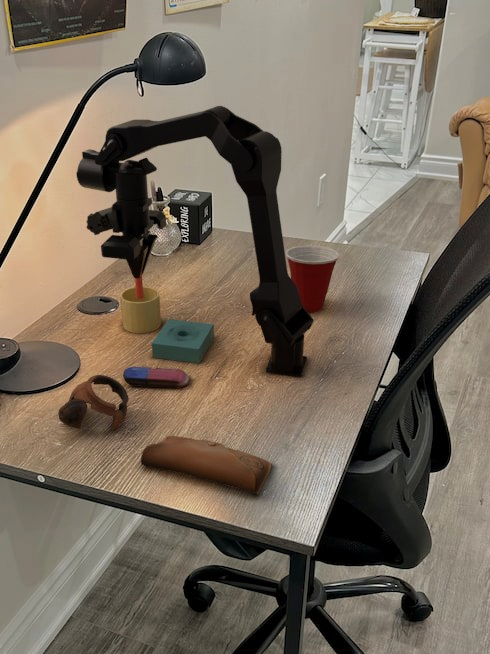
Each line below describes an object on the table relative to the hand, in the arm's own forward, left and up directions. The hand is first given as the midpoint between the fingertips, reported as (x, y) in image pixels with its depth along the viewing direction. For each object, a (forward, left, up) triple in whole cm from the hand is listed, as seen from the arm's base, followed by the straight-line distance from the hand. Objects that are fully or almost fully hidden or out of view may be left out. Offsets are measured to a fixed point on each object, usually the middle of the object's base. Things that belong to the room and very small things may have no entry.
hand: (138, 276), depth 138 cm
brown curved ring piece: (-34, -4, -10) cm, 36 cm away
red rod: (0, 0, -4) cm, 4 cm away
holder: (-7, -11, -10) cm, 17 cm away
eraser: (-20, -10, -10) cm, 25 cm away
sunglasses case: (-40, -25, -10) cm, 49 cm away
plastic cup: (+16, -31, -10) cm, 36 cm away
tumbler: (0, 0, -10) cm, 10 cm away
